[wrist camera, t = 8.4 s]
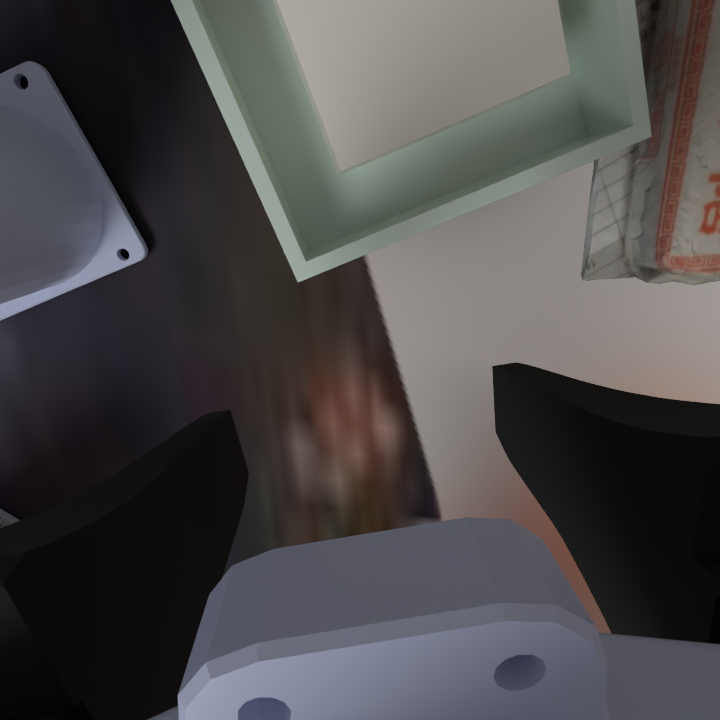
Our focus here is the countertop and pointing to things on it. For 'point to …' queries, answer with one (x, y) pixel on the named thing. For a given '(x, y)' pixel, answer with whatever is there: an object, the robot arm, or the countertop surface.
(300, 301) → the countertop surface
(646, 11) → the packaged product
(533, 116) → the box
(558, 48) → the white box
